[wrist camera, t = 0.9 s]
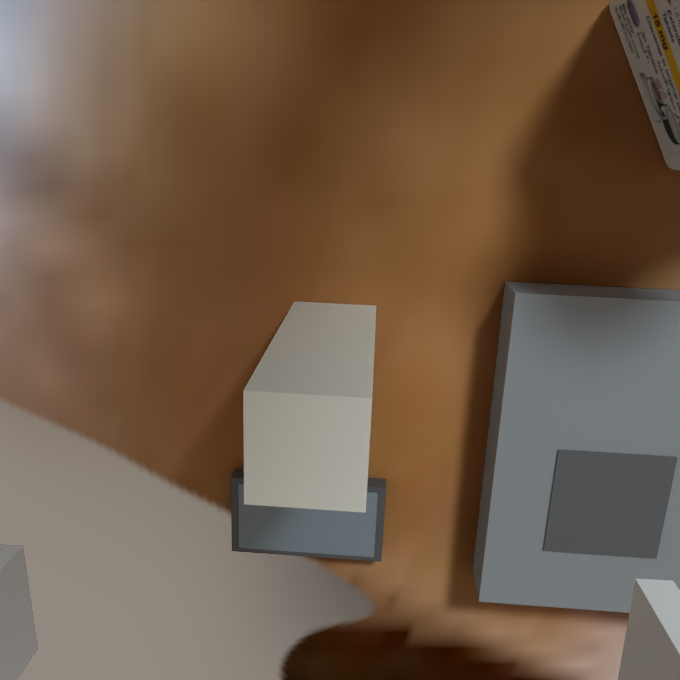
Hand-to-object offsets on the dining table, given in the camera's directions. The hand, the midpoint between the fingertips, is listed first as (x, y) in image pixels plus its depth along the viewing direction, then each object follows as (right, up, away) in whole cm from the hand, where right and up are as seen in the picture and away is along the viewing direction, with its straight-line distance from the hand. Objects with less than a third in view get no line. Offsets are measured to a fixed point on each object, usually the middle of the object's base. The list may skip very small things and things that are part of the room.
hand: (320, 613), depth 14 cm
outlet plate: (+18, 0, +18) cm, 26 cm away
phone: (-1, -3, +21) cm, 21 cm away
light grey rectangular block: (0, +6, +18) cm, 19 cm away
